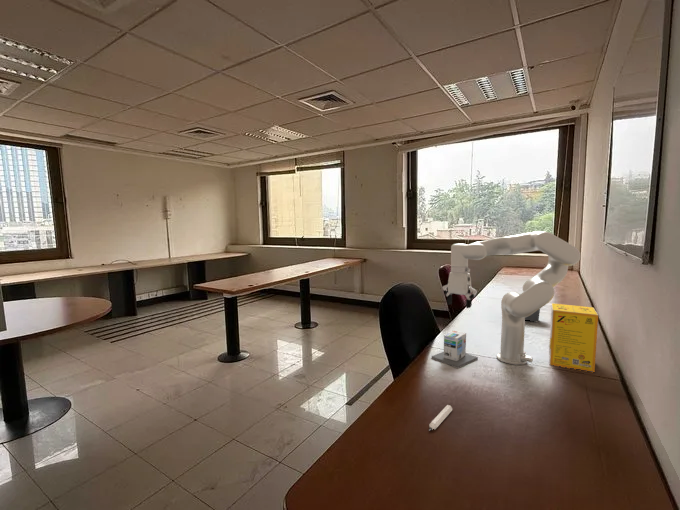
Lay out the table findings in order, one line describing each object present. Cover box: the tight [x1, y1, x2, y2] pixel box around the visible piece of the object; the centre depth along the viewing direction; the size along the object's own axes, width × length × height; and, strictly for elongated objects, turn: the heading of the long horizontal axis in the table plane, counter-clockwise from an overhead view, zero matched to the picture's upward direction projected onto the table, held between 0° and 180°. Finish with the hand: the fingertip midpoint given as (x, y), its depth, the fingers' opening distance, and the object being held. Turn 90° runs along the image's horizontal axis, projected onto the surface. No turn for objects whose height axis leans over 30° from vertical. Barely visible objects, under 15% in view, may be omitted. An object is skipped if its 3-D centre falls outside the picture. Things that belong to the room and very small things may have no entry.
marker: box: [428, 404, 453, 431], centre depth 107 cm, size 3×2×16 cm
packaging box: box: [548, 303, 599, 373], centre depth 153 cm, size 16×16×25 cm
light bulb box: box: [443, 330, 467, 361], centre depth 158 cm, size 11×7×11 cm, turn 139°
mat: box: [431, 351, 479, 369], centre depth 158 cm, size 14×16×1 cm
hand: (458, 305), depth 160 cm, fingers open, 9 cm apart
